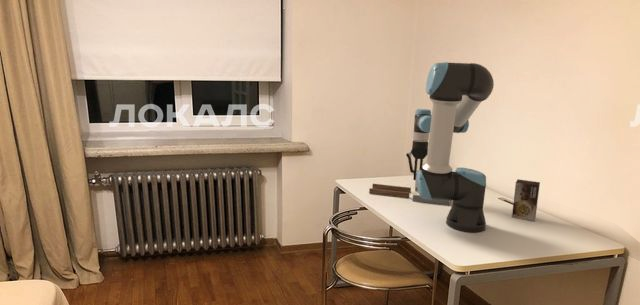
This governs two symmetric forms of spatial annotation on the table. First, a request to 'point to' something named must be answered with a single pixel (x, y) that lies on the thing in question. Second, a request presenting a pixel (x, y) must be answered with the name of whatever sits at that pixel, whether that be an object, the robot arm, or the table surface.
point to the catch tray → (419, 199)
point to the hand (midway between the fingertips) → (416, 186)
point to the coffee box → (525, 199)
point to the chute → (390, 190)
